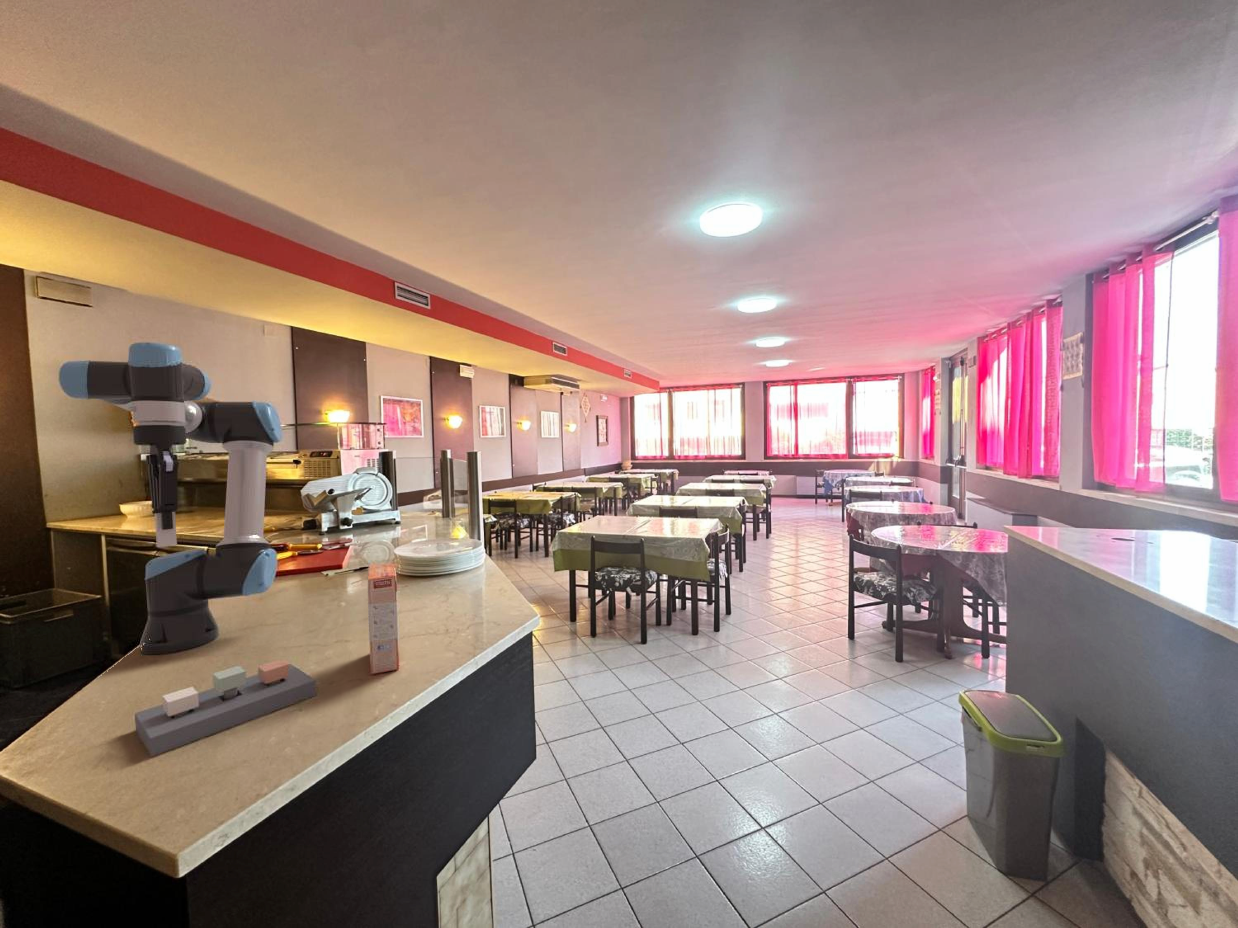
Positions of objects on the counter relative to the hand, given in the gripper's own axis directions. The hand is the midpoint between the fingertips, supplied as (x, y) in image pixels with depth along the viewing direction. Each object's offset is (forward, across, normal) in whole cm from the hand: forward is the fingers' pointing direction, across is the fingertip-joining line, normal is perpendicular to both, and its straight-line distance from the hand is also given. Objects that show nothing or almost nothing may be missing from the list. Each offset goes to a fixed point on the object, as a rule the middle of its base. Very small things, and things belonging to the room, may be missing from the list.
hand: (166, 545), depth 97 cm
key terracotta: (+30, +15, +12) cm, 35 cm away
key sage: (+28, +16, +5) cm, 33 cm away
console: (+30, +16, +5) cm, 34 cm away
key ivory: (+30, +15, -2) cm, 33 cm away
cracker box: (+31, +18, +33) cm, 48 cm away
